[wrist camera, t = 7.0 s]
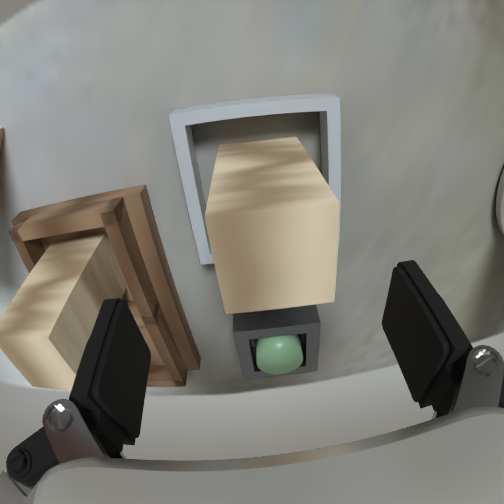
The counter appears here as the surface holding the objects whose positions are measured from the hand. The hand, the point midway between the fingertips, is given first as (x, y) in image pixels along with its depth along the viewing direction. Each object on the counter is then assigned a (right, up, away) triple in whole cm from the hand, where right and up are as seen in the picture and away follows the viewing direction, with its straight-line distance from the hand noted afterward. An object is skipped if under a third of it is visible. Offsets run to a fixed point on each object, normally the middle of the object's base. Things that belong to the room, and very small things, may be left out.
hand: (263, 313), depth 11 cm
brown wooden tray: (-13, -2, +16) cm, 21 cm away
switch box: (+2, -5, +19) cm, 20 cm away
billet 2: (0, +7, +10) cm, 13 cm away
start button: (+2, -6, +18) cm, 19 cm away
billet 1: (-13, +1, +12) cm, 18 cm away
